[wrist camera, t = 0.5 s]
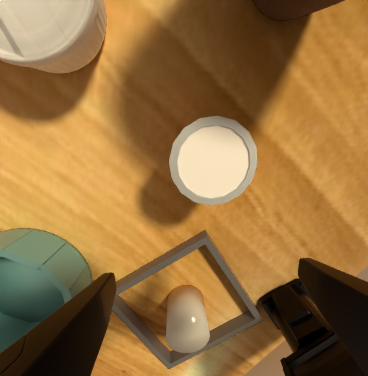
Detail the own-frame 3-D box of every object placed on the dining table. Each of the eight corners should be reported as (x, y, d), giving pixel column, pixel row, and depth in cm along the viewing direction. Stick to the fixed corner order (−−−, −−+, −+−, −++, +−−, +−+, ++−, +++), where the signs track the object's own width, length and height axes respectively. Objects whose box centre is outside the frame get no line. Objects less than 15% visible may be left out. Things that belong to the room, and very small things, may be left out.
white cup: (157, 153, 20) (149, 160, 13) (204, 109, 19) (220, 93, 13) (197, 196, 22) (208, 222, 15) (242, 157, 21) (275, 166, 14)
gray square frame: (258, 310, 27) (263, 320, 25) (168, 357, 28) (168, 369, 27) (205, 229, 23) (207, 235, 21) (104, 288, 24) (100, 298, 23)
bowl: (114, 290, 24) (101, 322, 20) (32, 337, 26) (3, 378, 21) (38, 206, 21) (2, 223, 17) (-53, 266, 22) (-108, 296, 18)
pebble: (209, 303, 26) (217, 340, 21) (179, 319, 26) (181, 359, 22) (191, 278, 25) (195, 312, 20) (160, 296, 25) (157, 333, 20)
